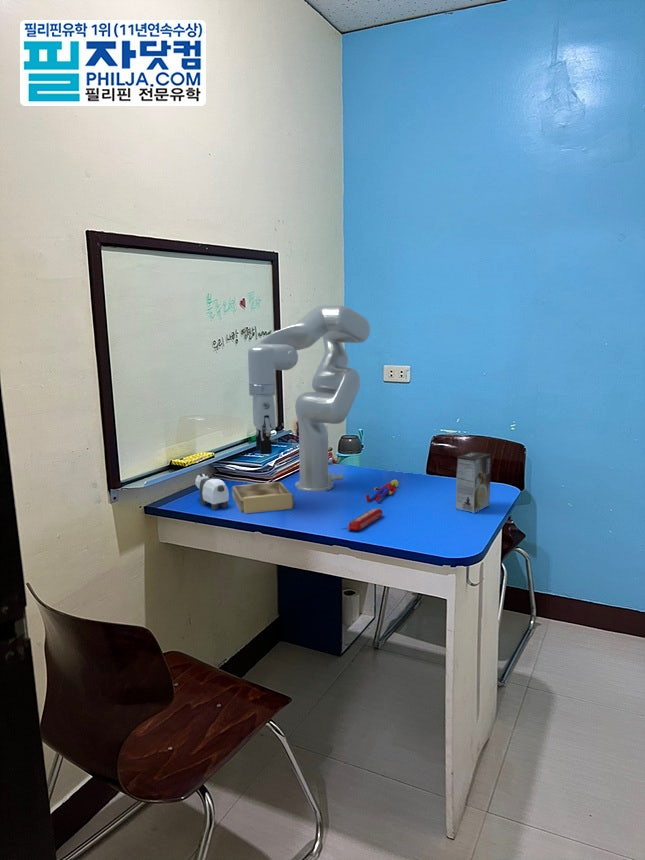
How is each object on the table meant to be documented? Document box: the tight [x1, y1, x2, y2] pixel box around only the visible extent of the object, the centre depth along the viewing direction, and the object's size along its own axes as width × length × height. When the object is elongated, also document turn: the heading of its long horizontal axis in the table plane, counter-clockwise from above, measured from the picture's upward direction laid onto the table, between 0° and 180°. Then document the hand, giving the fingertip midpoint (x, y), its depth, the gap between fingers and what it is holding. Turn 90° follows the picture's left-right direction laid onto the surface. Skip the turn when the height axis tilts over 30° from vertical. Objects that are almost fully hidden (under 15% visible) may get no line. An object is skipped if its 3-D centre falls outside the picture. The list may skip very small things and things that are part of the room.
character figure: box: [365, 479, 399, 503], centre depth 200 cm, size 6×4×20 cm
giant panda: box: [194, 472, 230, 511], centre depth 190 cm, size 15×6×10 cm, turn 40°
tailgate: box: [243, 492, 293, 514], centre depth 183 cm, size 14×1×4 cm, turn 107°
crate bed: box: [231, 481, 294, 513], centre depth 192 cm, size 16×16×4 cm
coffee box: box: [455, 451, 492, 513], centre depth 184 cm, size 9×6×16 cm
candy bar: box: [347, 508, 384, 532], centre depth 173 cm, size 16×4×3 cm, turn 148°
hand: (263, 450), depth 184 cm, fingers open, 5 cm apart
